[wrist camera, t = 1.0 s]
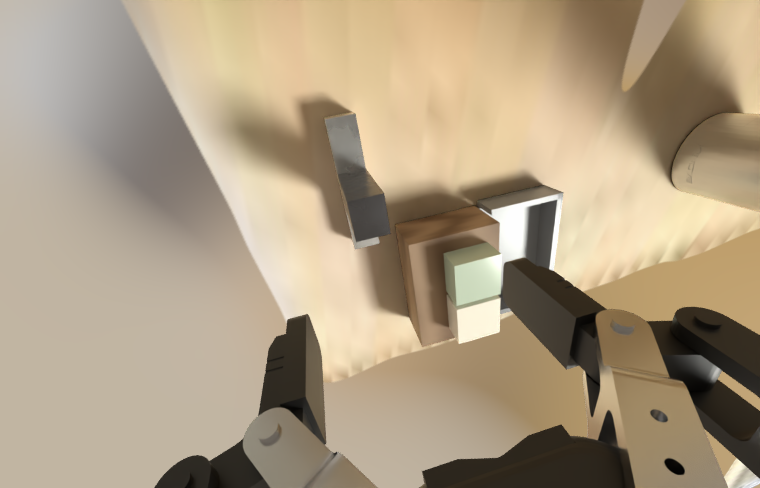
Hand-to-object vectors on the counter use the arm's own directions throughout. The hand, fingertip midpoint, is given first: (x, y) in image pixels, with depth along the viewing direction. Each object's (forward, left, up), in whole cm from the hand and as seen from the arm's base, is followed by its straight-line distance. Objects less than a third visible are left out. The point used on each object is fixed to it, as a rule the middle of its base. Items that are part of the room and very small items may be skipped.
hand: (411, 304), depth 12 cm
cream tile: (-9, +15, -14) cm, 22 cm away
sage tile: (-9, +10, -14) cm, 20 cm away
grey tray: (-17, +12, -19) cm, 28 cm away
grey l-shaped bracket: (0, 0, -20) cm, 20 cm away
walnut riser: (-8, +12, -19) cm, 24 cm away
